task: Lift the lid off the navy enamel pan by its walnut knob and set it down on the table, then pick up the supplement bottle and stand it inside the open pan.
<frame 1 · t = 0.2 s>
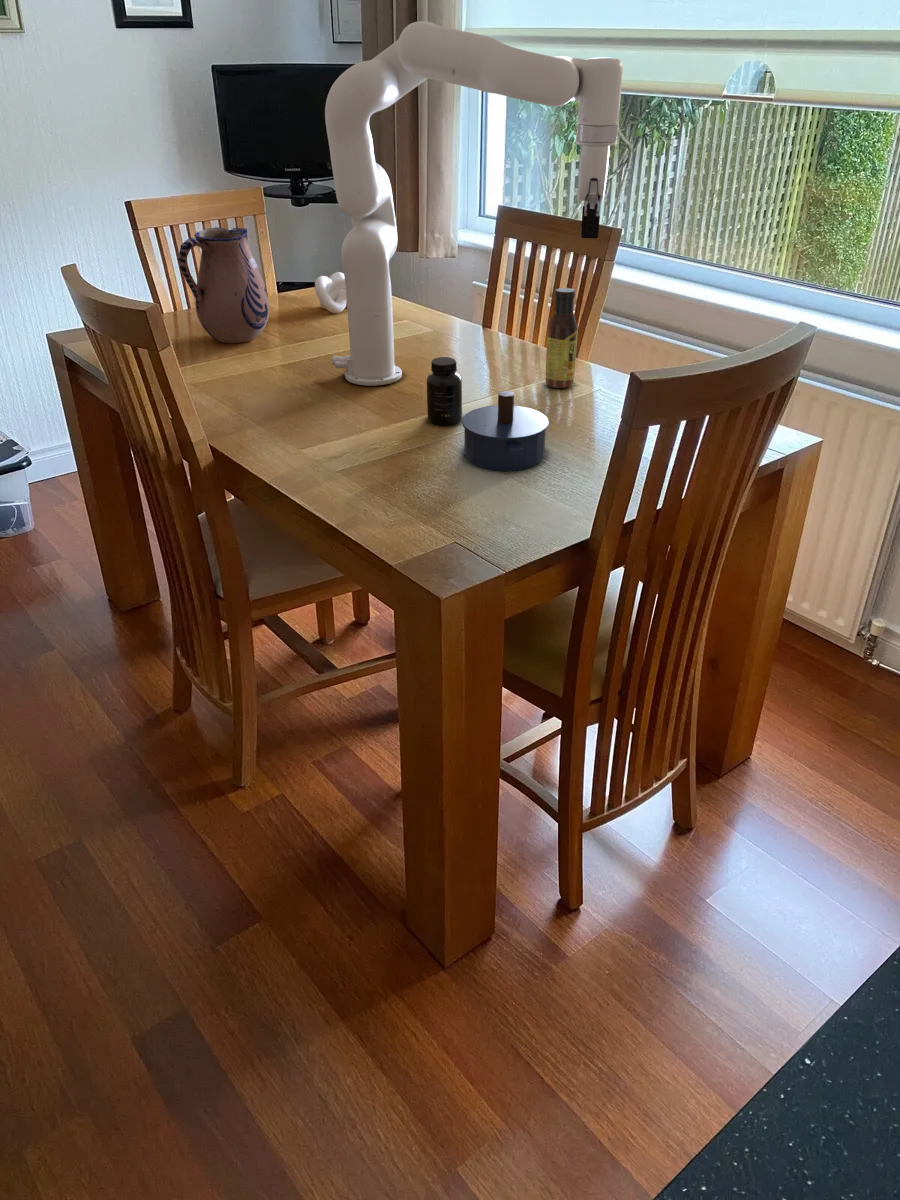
hand: (589, 232, 176), 31 cm above the table, tool pointing down, fingers open, 9 cm apart
ceramic pitcher: (232, 341, 221), on the table
supplement bottle: (444, 420, 177), on the table
pan: (504, 454, 163), on the table
sauce bottle: (559, 385, 194), on the table
white knot sculpture: (335, 310, 243), on the table
pan lid: (505, 423, 160), point 6 cm above the table, touching pan
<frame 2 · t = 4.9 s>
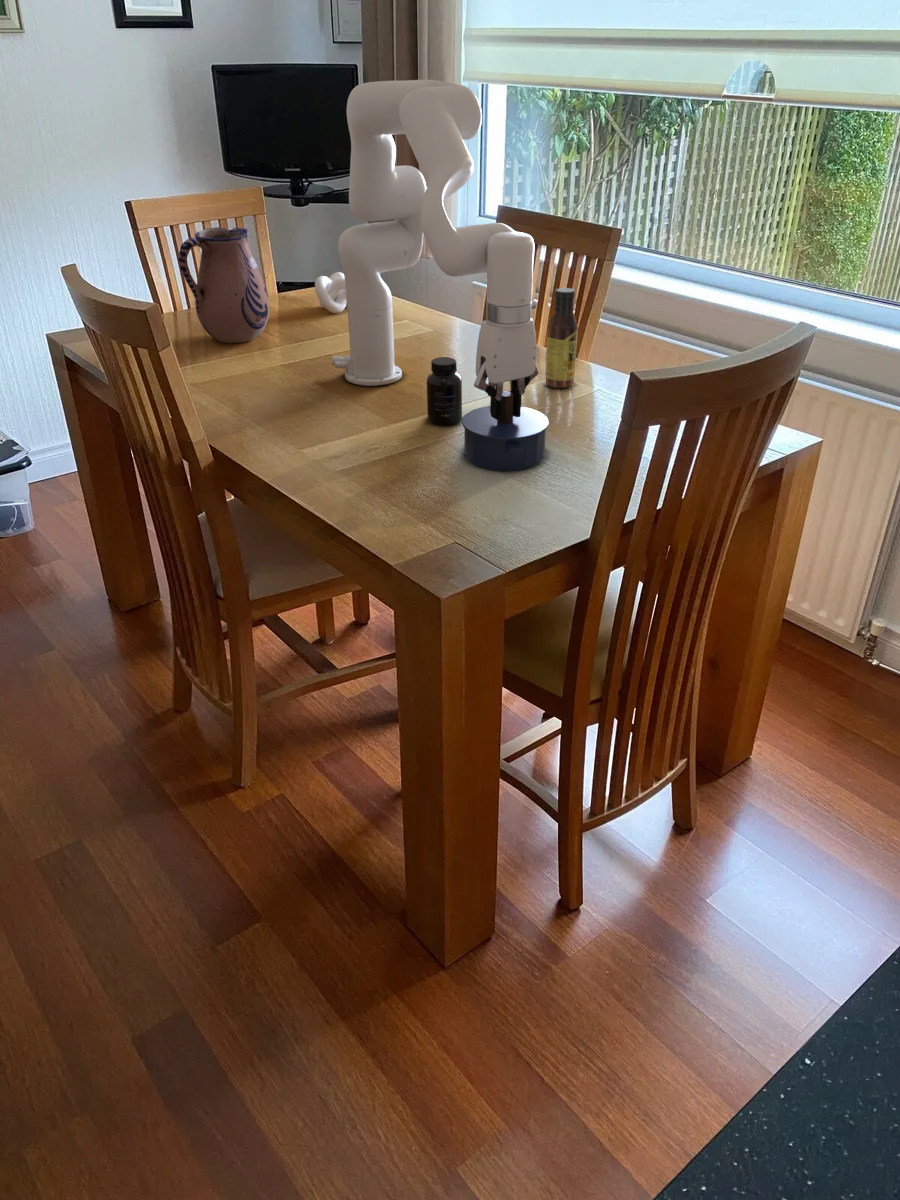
hand: (505, 415, 159), 7 cm above the table, tool pointing down, fingers closed on pan lid, 2 cm apart
pan lid: (505, 423, 160), point 6 cm above the table, touching gripper, pan
everything else where it was.
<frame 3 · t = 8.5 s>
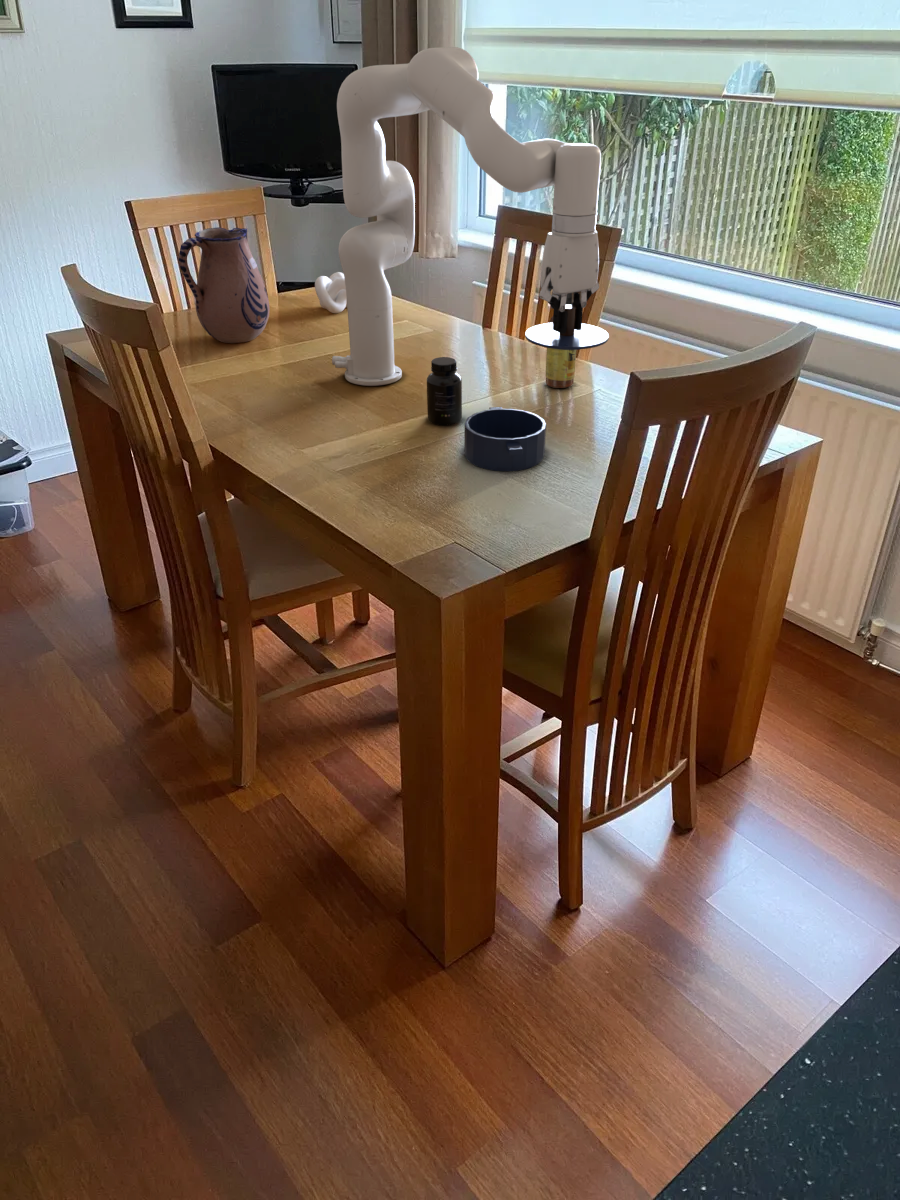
hand: (567, 329, 165), 19 cm above the table, tool pointing down, fingers closed on pan lid, 2 cm apart
pan lid: (566, 336, 165), point 17 cm above the table, touching gripper
everything else where it was.
when the fingers open (2 cm above the table, at t = 12.3 s): pan lid stays where it is, point 1 cm above the table.
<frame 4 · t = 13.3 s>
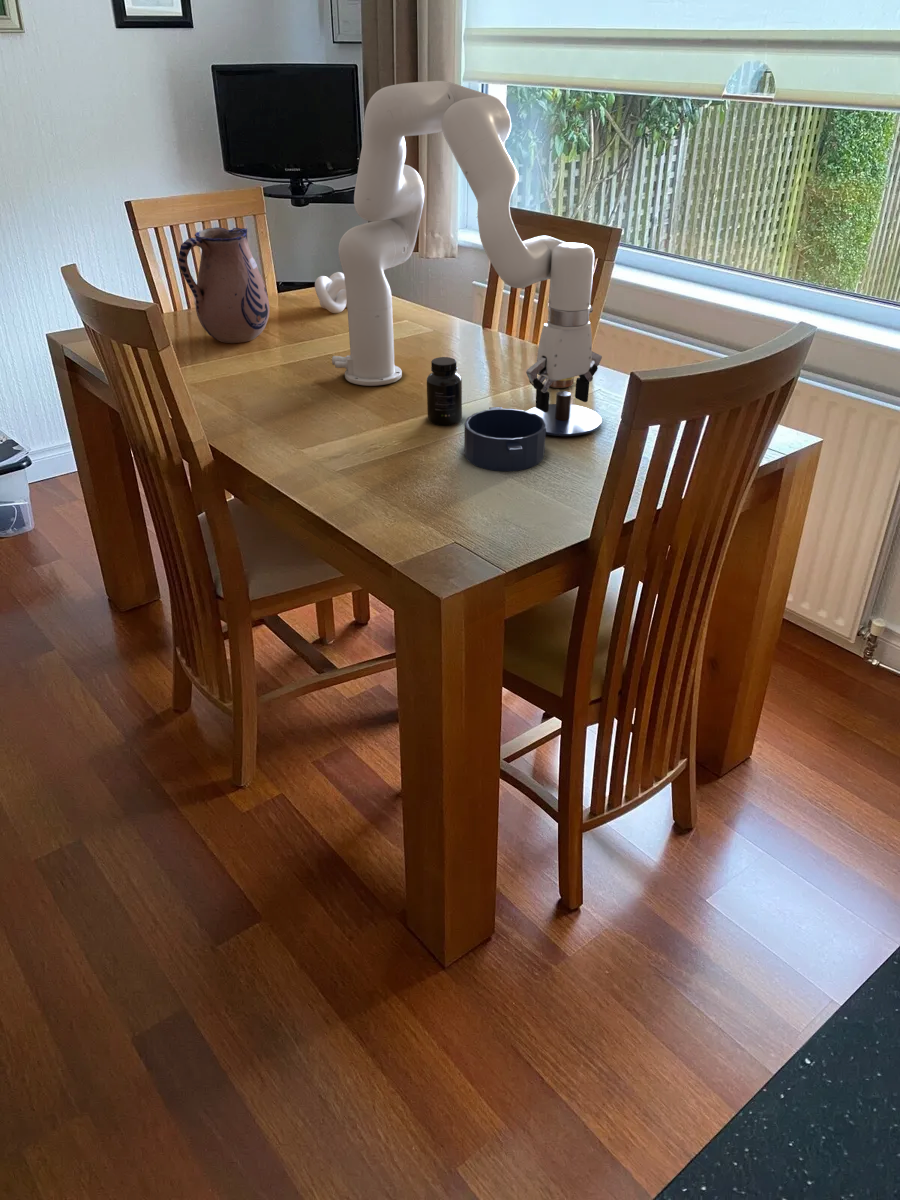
hand: (561, 404, 173), 4 cm above the table, tool pointing down, fingers open, 9 cm apart
pan lid: (561, 420, 175), point 1 cm above the table
everything else where it was.
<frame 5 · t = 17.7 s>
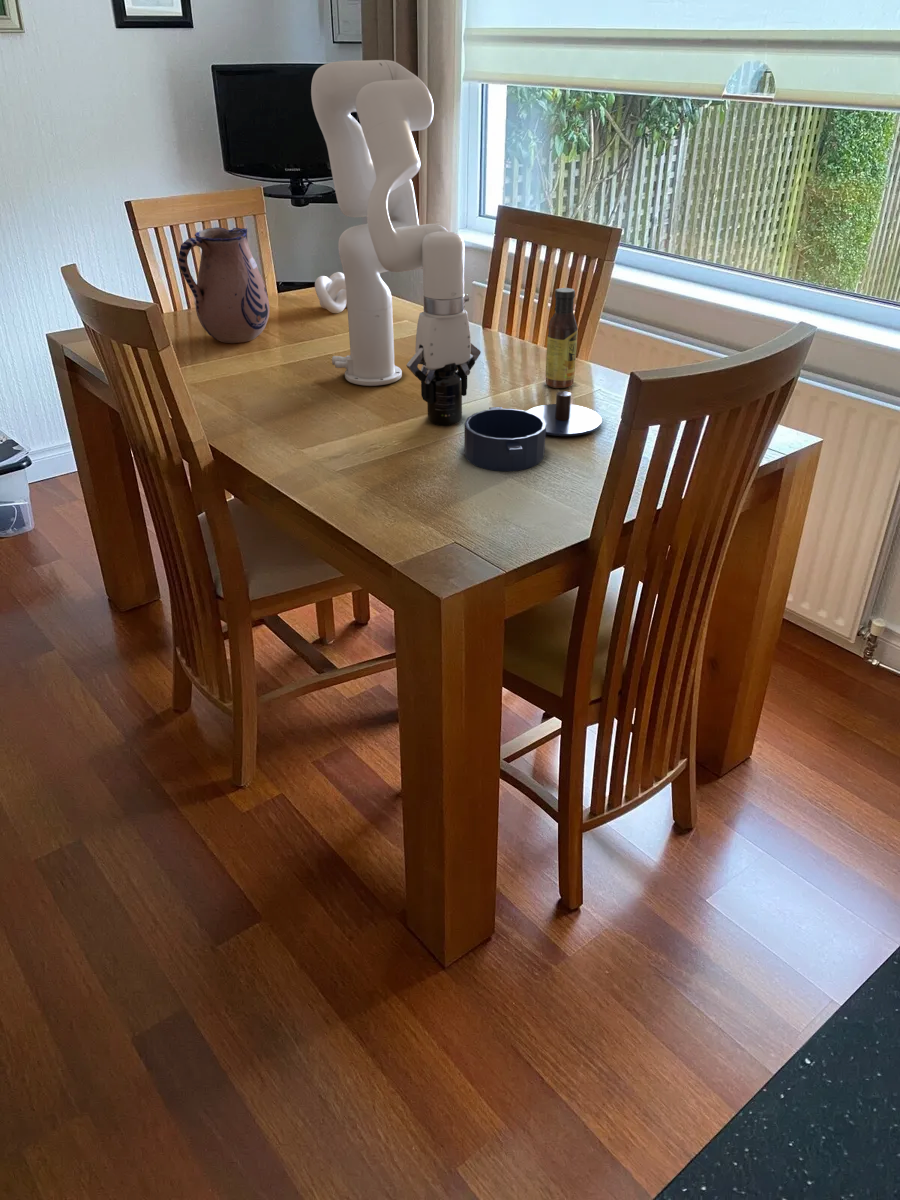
hand: (444, 396, 174), 5 cm above the table, tool pointing down, fingers closed on supplement bottle, 6 cm apart
supplement bottle: (444, 420, 177), on the table, touching gripper
everything else where it was.
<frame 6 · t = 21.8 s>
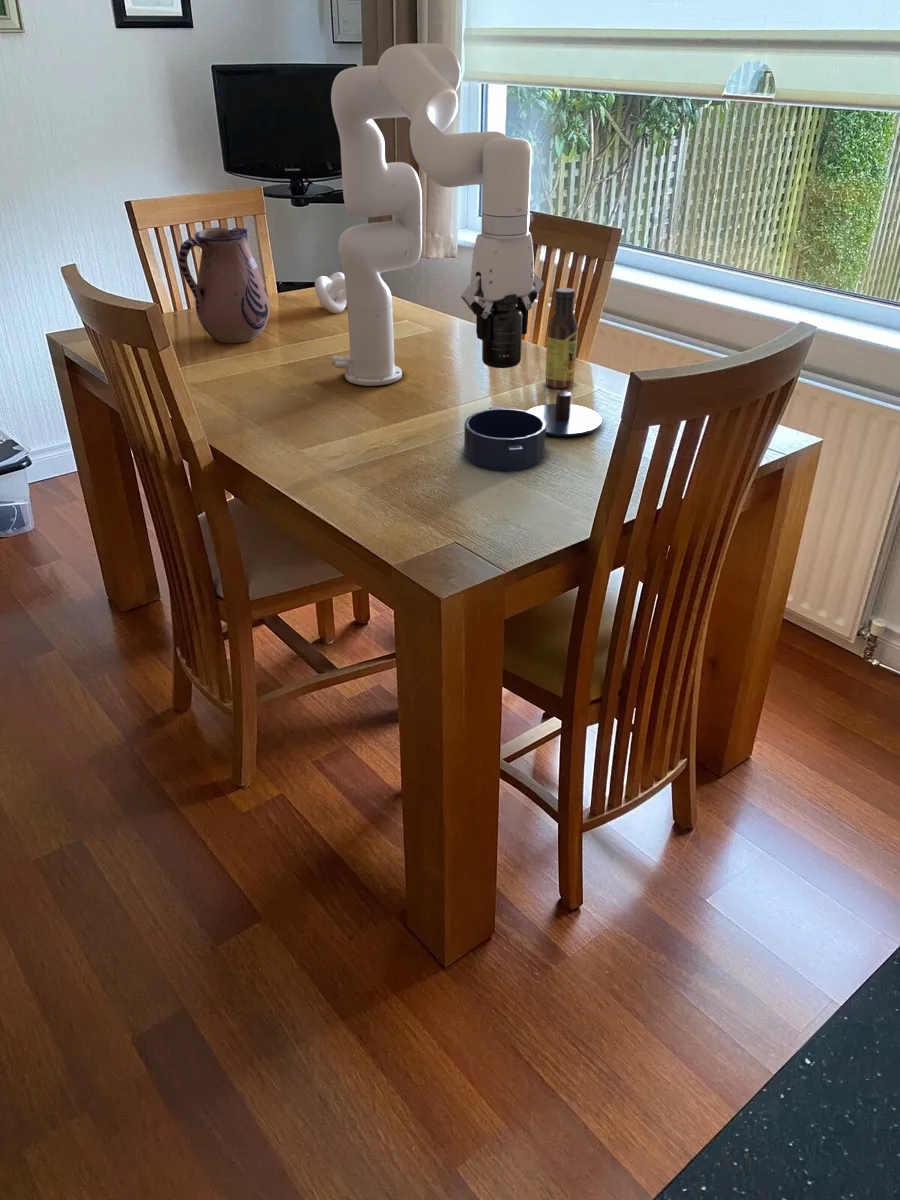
hand: (502, 335, 152), 21 cm above the table, tool pointing down, fingers closed on supplement bottle, 6 cm apart
supplement bottle: (501, 363, 155), point 16 cm above the table, touching gripper
everything else where it was.
when the fingers open (5 cm above the table, at t = 25.9 s): supplement bottle stays where it is, resting on pan.
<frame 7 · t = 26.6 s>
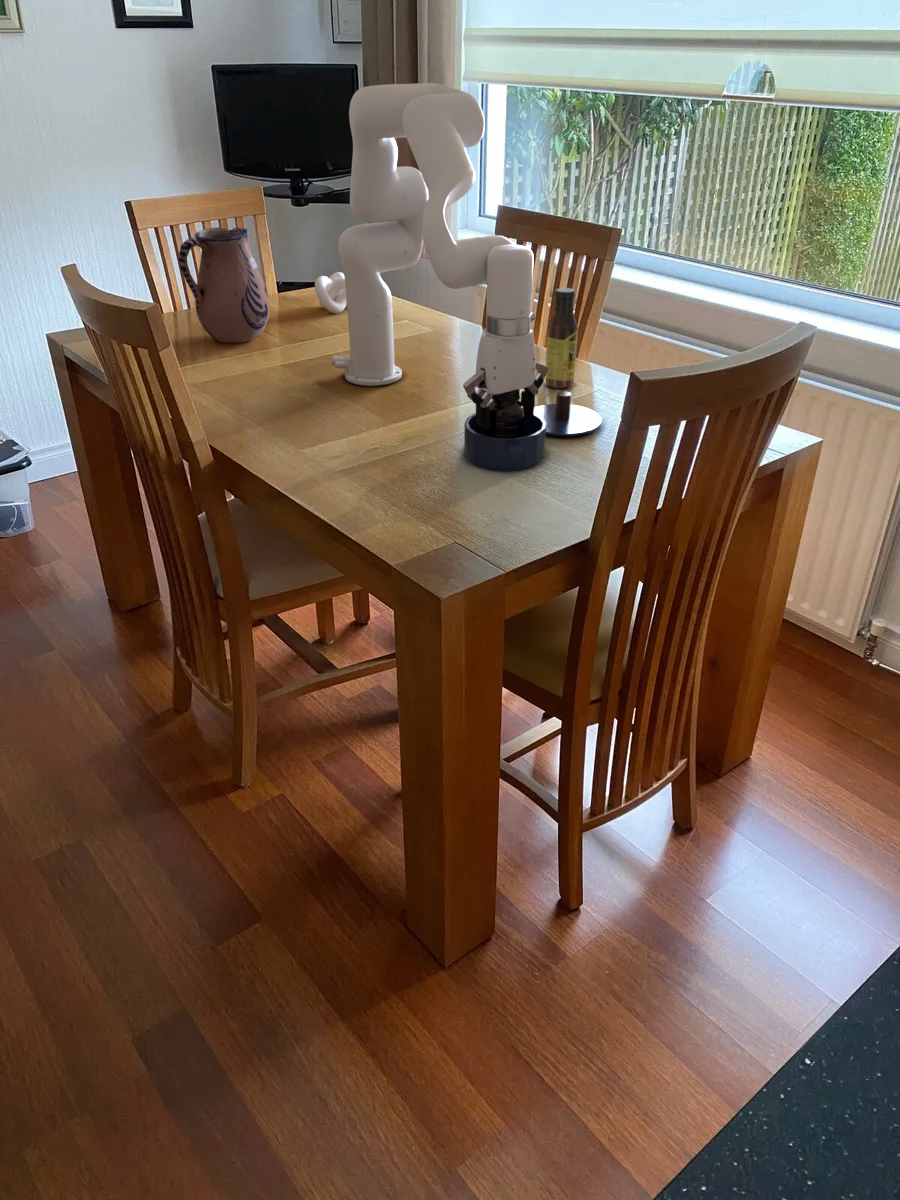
hand: (505, 420, 160), 7 cm above the table, tool pointing down, fingers open, 9 cm apart
supplement bottle: (504, 452, 163), resting on pan
everything else where it was.
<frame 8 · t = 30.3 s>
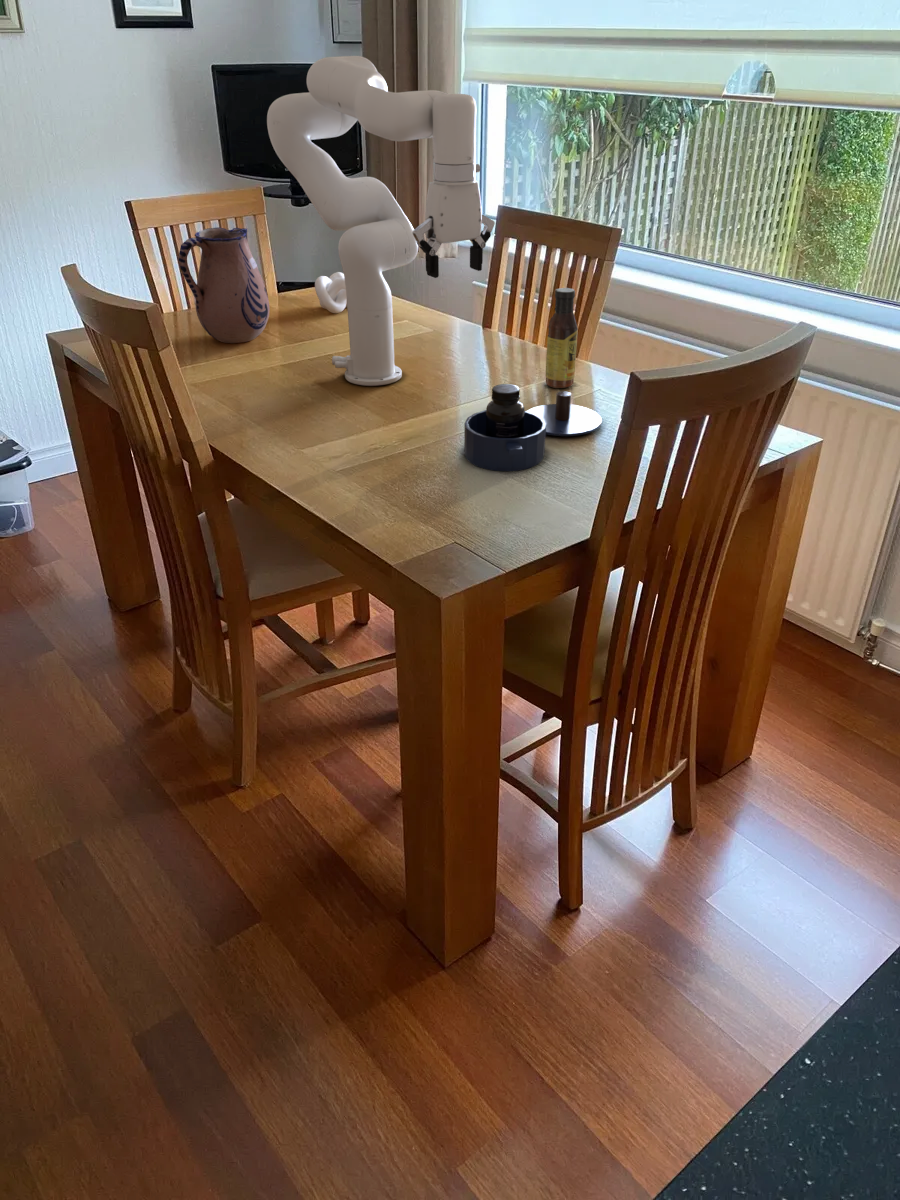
hand: (454, 272, 169), 26 cm above the table, tool pointing down, fingers open, 9 cm apart
nothing on the table moved.
at the end: pan lid inside the target area on the table beside the pan (0.0 cm from its centre), point 0.6 cm above the table; supplement bottle inside the target area in the pan (0.1 cm from its centre), point 0.3 cm above the pan's base; supplement bottle tilted 0° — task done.
